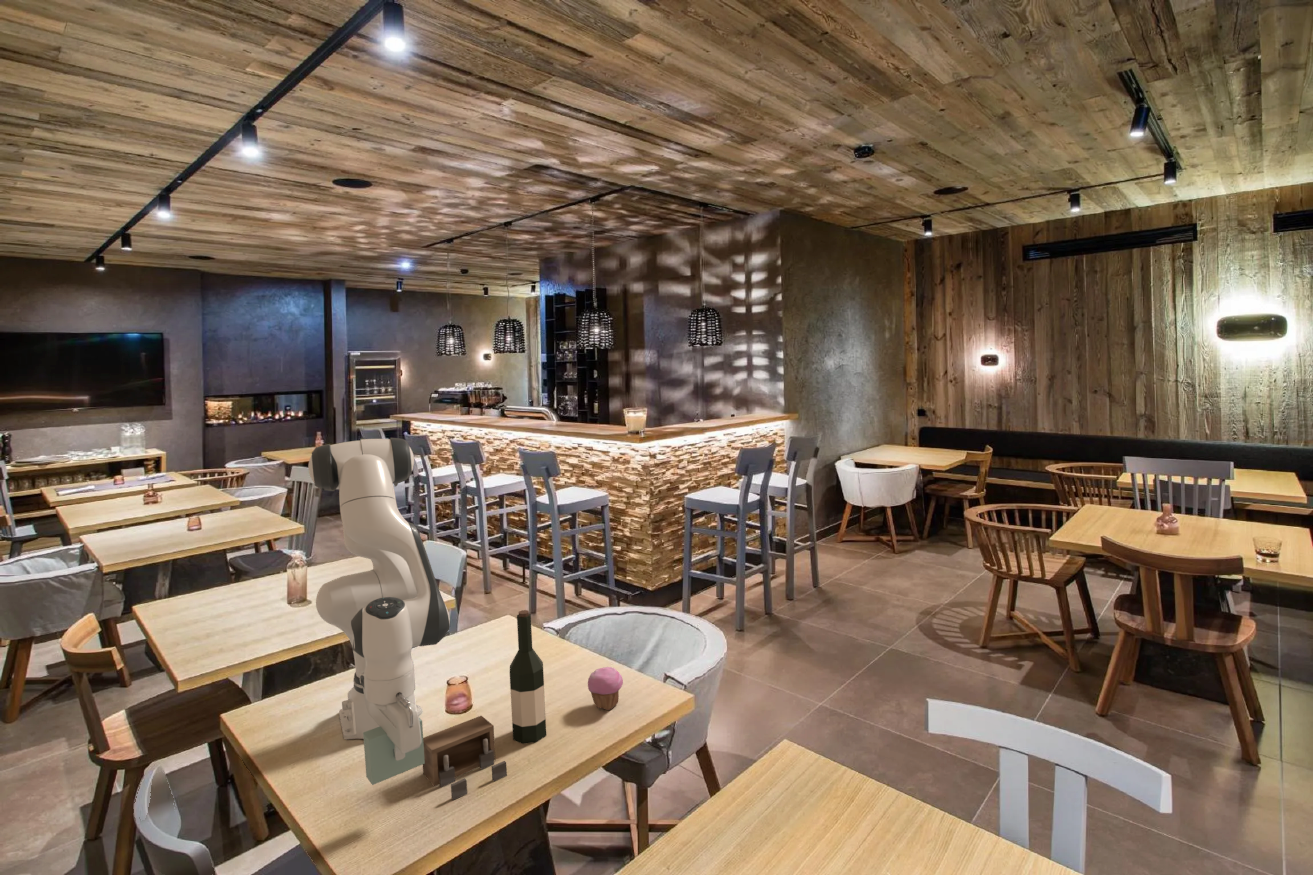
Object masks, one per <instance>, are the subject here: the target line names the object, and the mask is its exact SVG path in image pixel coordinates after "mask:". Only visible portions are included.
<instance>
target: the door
mask: <svg viewBox="0 0 1313 875" xmlns="http://www.w3.org/2000/svg"><path fill="white" fill-rule="evenodd" d="M419 721H420V729H421V739H422V742H421V745H420V747H419V748H417V749H415V750H412V751H410V752H407V753H405V757H404V758H403V759H401V760H398V761H397V760H396V759H395V758H394V756H393V749H394V748H395V745H394V743H393V742H392V741H391V739H390V738H389V737H388V736H387V733H386V732H385V731H384V730H383V729H382V728H381V726H380V727H377V728H374V729H372V730H369V731H366V732H363V737H364V739H363V748H364V749H363V750H364V762H365V763H364V764H365V776H366V779H367V780H368V781H369V783H370V785H371V786H374V785H376V784H379V783H382V782H383V781H386V780H389V779H391V778H393V777H395V776H399V775H400V774H403V773H406V772H408V771H410V770H412V769H416V768H417V767H420V766H423V764H425V760H424V743H423V738H424V730H423V729H424V727H423V720H422V719H421V717H419Z"/></svg>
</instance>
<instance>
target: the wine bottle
mask: <svg viewBox="0 0 1313 875" xmlns="http://www.w3.org/2000/svg"><path fill="white" fill-rule="evenodd" d="M529 612H530V611H529V610H527V609H524V610H520V611H518V614H516V623H517V625H516V626H517V645H518V646H517V647H518V650H517V652H516V653H515V656H514V658H513V659H512V661H511V663H510V665H509V686H510V689H509V690H510V706H511V725H512V740H513V741H514V742H517V743H520V744H522V745H525V744H532V743H533V744H534V743H538V742H540V740H542V739H544V738H545V737H547V721H546V720H547V718H546V716H547V715H546V701H545V697H546V696H545V679H544V675H545V674H544V661H543V660H542V659H541V658H540V655H538V653H537V652H536V651H535V650H534V648H533V633H532V615H531V613H529Z"/></svg>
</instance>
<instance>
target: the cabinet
mask: <svg viewBox="0 0 1313 875" xmlns="http://www.w3.org/2000/svg"><path fill="white" fill-rule="evenodd" d="M423 743H424V760H425V764H423V765H422V775H423V776H424V777H425V778H426V780H428V781H429V782H430V783H431V784H432V786H433V787H436V786H440V787H441V788H442V787H446V786H447V785H448V786H449V785H450V793H451V800H452V801H455V800H457V799H459V798H461V797H463V796H466V795H468V786H467V785H468V784H467V779H466V778H462V779H460V780H458V781H456V778H457V777H459V776H461V775H463V774H466V773H468V772H471V771H473V770H475V769H478V768H479V769H480V770H484V769H487V768H489V767H491V778H492V779H491V780H492V781H493V782H496V781H498V780H500V779H503V778H505V777H507V776H508V772H507V770H508V769H507V762H506V761H505V760H502V761H501V762H499V763H496V764H495V761H496V746H495V745H496V744H495V728H494V724H492V723H491V722H490V721H488V720H487V719H486V718H485V717H484V716H483V715H478V716H477V717H474V718H471V719H468V720H466V721H464V722H460V723H458V724H456V725H453V726H451V727H447V728H445V729H442V730H439V731H438V732H435V733H432V734H430V735H428V736H427V735H426V736H423Z"/></svg>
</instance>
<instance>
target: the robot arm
mask: <svg viewBox="0 0 1313 875" xmlns="http://www.w3.org/2000/svg"><path fill="white" fill-rule="evenodd" d="M414 464H415V455H414V453H413V450H412V447H410V444H409V443H408V441H407V440H405V439H403V438H398V437H390V438H367V439H366V438H364V439H363V438H361V439H360V440H359V439H358V440H352V441H345V442H340V443H334V444H331V443H326V444H323V445H319V446H318V447H317V446H316V448H314V449H313V450H312V452H311V454H310V458H309V460H308V466H307V467H308V474H309V476H310V477H309V478H311V481H312V482H313V483H314V486H315V487H317V488H318V489H320V490H321V491H329V492H335V490H338V491H339V492H338V493H339V494H338V495H339V496H338V497H339V511H340V518H341V524H342V531H343V543H344V547H345V549H346V550H347V551H348V552H349V553H351V554H352V555H354V556H358V557H360V558H365V559H368V560H370V562H371V563H372V568H373V569H370V570H367V571H362V572H357V573H352V574H346V575H343V576H340V577H337V578H335V579H333V580H330V581H328V582H326V583H323V584H322V585H321V586H320V588H319V590H318V592H317V594H316V599H315V607H316V608H315V609H316V611H317V613H318V615H319V617H320V618H321V620H323V621H324V622H326V623H328V625H332V626H335V627H336V628H338V629H340V630H341V631H342V632H343V633H344V634H345V636H346V637H347V638H348V641H350V644H351V647H352V652H353V658H354V659H353V660H354V667H355V668H354V669H355V673H354V676H353V680H352V682H353V687H352V688H350V689H349V690H348V692H347V699H346V700H342V701H341V707H342V708H341V709H339V712H338V717H339V721H340V726H341V730H342V731H341V732H342V736H343V740H354V739H355V740H356V739H360V740H364V737H363V732H366V731H369V730H372V729H374V728H377V727H380V726H381V728H382V729H383V730H384V731H385V732H386V733H387V736H388V737H389V738H390V739H391V741H392V742H393V743H394V745H395V748H394V749H393V756H394V758H395V759H396V760H397V761H398V760H401V759H403V758H404V757H405V753H407V752H410V751H412V750H415V749H417V748H419V747H420V745H421V742H422V739H421V729H420V721H419V718H420V715H421V714H423V707H422V706H420V705H418V704H417V703H416V702H417V701H416V694H415V690H416V677H415V674H416V673H415V664H414V660H413V657H412V650H413V649H412V648H415V647H427V646H435V645H437V644H438V643H439V642H441V641H442V640H443V639H444V638H445V636H446V635H447V633H448V632H449V630H450V627H451V626H450V623H451V622H450V620H451V619H450V613H449V610H448V608H447V605H446V603H445V601H444V599H443V597H442V594H441V591H440V589H439V586H438V583H437V580H436V578H435V574H434V572H433V568H432V564H431V562H430V559H429V557H428V554H427V550H426V548H425V546H424V542H423V540H422V537H421V534H420V531H419V530H418V528H417V527H416V525H415V524H414V523H413V522H410V521H407V520H406V519H405V518H404V517H403V515H402V514H401V512H400V511H399V509H398V508H399V507H398V504H397V499H396V498H397V497H396V492H395V487H397V486H398V485H399V484H401V483H403V482H405V481H407V479H409V478H410V476H412V472H413V468H414Z"/></svg>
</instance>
